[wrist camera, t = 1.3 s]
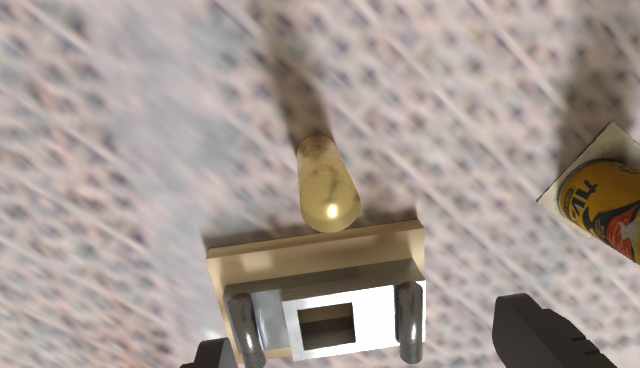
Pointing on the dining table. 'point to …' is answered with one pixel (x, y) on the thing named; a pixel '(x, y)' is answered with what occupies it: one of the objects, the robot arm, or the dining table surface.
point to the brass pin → (325, 186)
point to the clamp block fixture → (323, 293)
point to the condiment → (602, 192)
